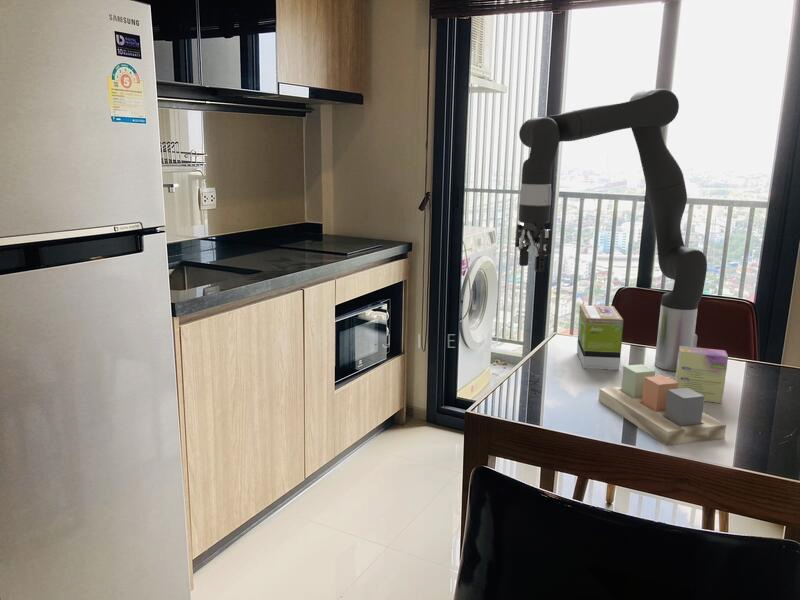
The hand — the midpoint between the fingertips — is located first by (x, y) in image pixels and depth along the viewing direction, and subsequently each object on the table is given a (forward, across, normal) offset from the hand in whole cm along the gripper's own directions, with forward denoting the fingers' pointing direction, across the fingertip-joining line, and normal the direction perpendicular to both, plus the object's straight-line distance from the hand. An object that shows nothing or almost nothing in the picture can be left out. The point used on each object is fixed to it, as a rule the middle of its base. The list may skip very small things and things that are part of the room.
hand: (531, 268), depth 163 cm
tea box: (+30, +9, -27) cm, 41 cm away
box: (+30, -21, -36) cm, 51 cm away
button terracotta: (+27, -30, -18) cm, 44 cm away
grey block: (+27, -38, -18) cm, 50 cm away
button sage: (+27, -22, -18) cm, 39 cm away
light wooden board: (+29, -30, -18) cm, 45 cm away
